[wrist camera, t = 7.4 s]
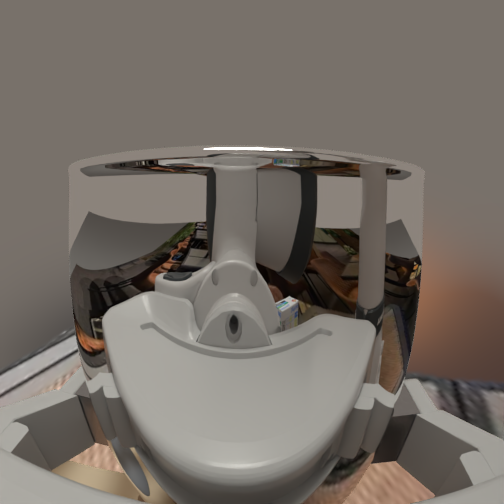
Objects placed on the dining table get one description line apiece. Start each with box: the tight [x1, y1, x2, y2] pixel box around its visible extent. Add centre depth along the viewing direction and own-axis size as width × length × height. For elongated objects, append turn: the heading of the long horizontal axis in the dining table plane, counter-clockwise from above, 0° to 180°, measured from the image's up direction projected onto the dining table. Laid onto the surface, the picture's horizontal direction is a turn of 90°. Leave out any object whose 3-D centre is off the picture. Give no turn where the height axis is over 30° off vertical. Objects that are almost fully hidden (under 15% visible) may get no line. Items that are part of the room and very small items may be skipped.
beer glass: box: [68, 145, 425, 504], centre depth 8 cm, size 7×7×15 cm
